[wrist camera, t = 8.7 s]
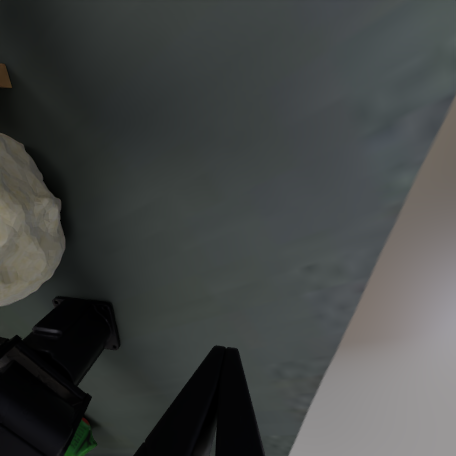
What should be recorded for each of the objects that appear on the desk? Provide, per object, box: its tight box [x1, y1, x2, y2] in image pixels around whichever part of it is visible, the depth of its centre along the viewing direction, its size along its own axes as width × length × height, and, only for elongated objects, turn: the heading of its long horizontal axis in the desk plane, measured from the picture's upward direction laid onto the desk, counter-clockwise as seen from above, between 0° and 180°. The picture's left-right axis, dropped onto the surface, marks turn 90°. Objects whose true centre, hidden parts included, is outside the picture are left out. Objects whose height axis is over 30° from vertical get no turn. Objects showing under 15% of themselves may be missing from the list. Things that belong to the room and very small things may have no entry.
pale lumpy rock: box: [0, 133, 65, 306], centre depth 18 cm, size 15×7×15 cm
